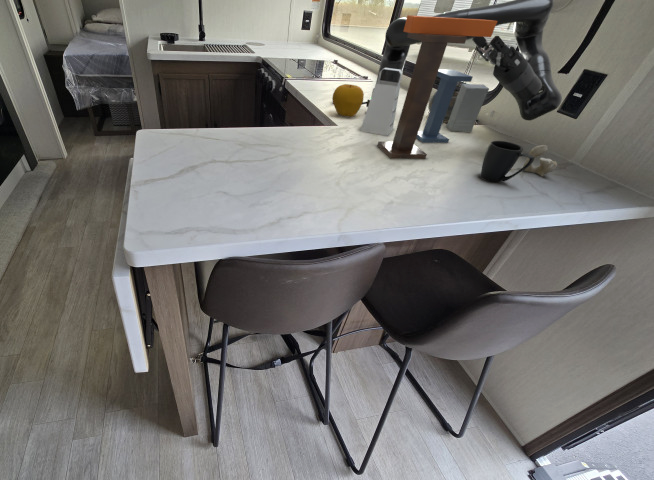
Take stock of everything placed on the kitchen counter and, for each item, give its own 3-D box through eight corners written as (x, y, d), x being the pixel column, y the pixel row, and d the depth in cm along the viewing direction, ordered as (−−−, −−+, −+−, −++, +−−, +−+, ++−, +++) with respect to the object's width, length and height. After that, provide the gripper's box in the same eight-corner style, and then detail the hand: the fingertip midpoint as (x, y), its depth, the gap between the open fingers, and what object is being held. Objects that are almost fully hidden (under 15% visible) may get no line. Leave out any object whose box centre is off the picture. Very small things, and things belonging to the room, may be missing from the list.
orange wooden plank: (482, 35, 97) (488, 19, 95) (491, 37, 95) (497, 21, 92) (403, 31, 95) (407, 15, 92) (409, 32, 92) (414, 16, 89)
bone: (562, 170, 105) (570, 143, 98) (547, 184, 105) (554, 158, 97) (533, 162, 111) (538, 136, 103) (519, 176, 111) (523, 150, 103)
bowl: (467, 122, 148) (477, 96, 142) (440, 124, 143) (450, 97, 137) (443, 113, 158) (452, 88, 151) (417, 115, 153) (425, 89, 146)
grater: (366, 124, 139) (380, 65, 125) (392, 128, 135) (409, 69, 122) (360, 130, 131) (373, 69, 118) (387, 135, 128) (404, 73, 115)
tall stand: (409, 146, 121) (446, 32, 99) (425, 158, 112) (469, 37, 90) (377, 145, 119) (407, 30, 98) (390, 158, 110) (427, 35, 89)
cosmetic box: (465, 128, 141) (483, 83, 131) (471, 133, 136) (491, 87, 125) (444, 126, 142) (461, 82, 131) (450, 131, 136) (467, 86, 126)
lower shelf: (433, 133, 134) (456, 69, 120) (449, 143, 125) (475, 76, 111) (409, 132, 133) (429, 68, 119) (423, 143, 124) (447, 75, 110)
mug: (508, 191, 95) (527, 157, 89) (469, 175, 103) (484, 142, 96) (523, 186, 99) (543, 152, 92) (485, 171, 106) (500, 139, 100)
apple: (342, 120, 141) (348, 89, 133) (323, 112, 149) (328, 82, 141) (366, 118, 146) (373, 87, 138) (346, 110, 154) (352, 80, 146)
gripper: (509, 56, 106) (481, 20, 99) (542, 64, 96) (513, 25, 89) (488, 80, 110) (459, 47, 103) (518, 90, 100) (487, 54, 93)
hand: (484, 37), depth 96 cm, fingers open, 8 cm apart
